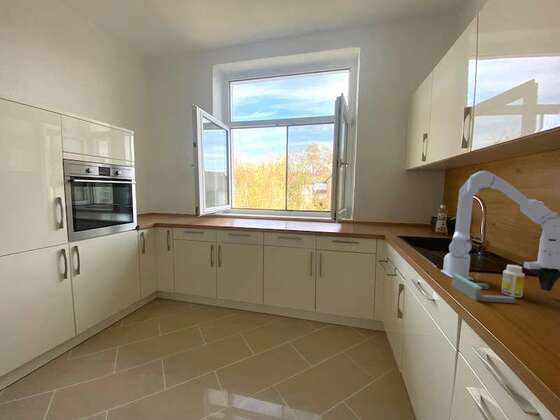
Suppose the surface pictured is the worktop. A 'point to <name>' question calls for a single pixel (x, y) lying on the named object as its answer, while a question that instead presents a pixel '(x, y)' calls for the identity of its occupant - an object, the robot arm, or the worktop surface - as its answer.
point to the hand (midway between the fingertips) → (545, 289)
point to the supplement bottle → (513, 281)
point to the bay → (477, 290)
